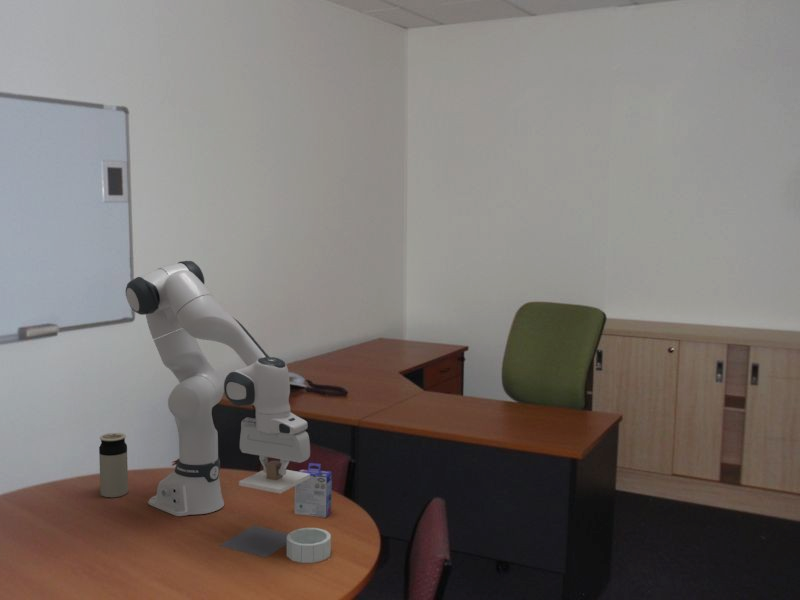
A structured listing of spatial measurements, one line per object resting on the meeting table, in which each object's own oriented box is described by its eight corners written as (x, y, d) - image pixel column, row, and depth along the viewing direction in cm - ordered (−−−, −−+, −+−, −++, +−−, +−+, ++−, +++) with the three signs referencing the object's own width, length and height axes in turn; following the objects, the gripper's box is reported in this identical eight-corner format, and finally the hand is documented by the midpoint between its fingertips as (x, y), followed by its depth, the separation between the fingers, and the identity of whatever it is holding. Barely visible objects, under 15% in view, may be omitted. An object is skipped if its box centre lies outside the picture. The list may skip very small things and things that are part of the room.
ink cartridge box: (332, 511, 241) (332, 463, 239) (327, 518, 236) (327, 469, 234) (300, 508, 243) (300, 460, 241) (293, 515, 238) (294, 466, 236)
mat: (218, 546, 216) (218, 545, 216) (254, 527, 229) (254, 525, 229) (265, 559, 209) (265, 557, 209) (299, 538, 222) (299, 536, 222)
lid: (238, 485, 211) (238, 466, 210) (270, 470, 222) (269, 452, 222) (280, 493, 205) (279, 473, 204) (310, 477, 216) (309, 459, 216)
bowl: (278, 558, 209) (278, 539, 209) (303, 542, 219) (303, 524, 218) (314, 568, 204) (315, 548, 204) (338, 551, 214) (338, 533, 213)
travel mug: (122, 498, 248) (121, 440, 246) (96, 498, 248) (94, 439, 246) (131, 489, 256) (130, 432, 254) (106, 488, 256) (104, 432, 254)
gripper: (233, 419, 214) (235, 471, 215) (298, 429, 204) (299, 483, 206) (249, 413, 219) (250, 464, 221) (313, 423, 210) (314, 475, 211)
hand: (274, 473), depth 213 cm, fingers closed on lid, 3 cm apart
